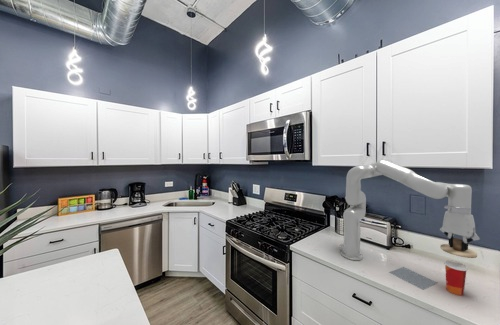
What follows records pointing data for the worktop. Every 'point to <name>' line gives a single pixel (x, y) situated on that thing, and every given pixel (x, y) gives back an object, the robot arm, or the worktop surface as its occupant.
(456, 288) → the paper cup
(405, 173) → the robot arm
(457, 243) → the oak lid
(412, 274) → the grey mat
